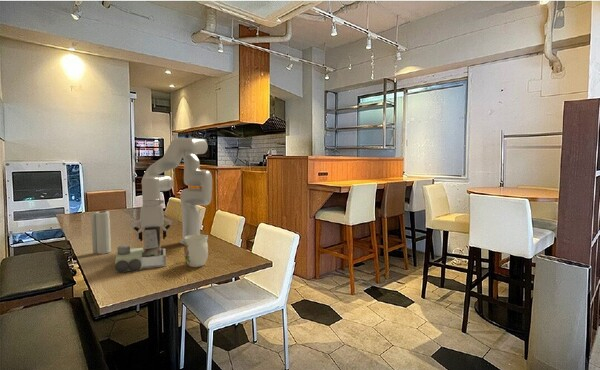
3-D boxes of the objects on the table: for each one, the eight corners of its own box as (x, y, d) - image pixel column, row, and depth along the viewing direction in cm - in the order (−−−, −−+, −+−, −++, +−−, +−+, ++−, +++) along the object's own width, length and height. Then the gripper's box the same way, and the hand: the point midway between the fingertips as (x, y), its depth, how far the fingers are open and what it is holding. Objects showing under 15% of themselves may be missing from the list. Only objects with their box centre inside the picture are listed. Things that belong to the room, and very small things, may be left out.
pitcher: (200, 257, 166) (200, 230, 165) (214, 267, 151) (214, 237, 150) (178, 261, 159) (177, 233, 158) (190, 272, 145) (189, 241, 144)
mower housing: (143, 258, 163) (143, 240, 162) (141, 270, 146) (140, 250, 145) (120, 261, 159) (119, 242, 158) (115, 273, 142) (114, 252, 141)
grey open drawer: (165, 258, 164) (165, 248, 164) (165, 266, 152) (165, 255, 152) (143, 260, 160) (143, 250, 160) (141, 268, 148) (141, 257, 148)
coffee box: (160, 263, 153) (159, 228, 152) (145, 264, 151) (144, 229, 149) (160, 257, 161) (160, 225, 160) (146, 259, 159) (145, 225, 158)
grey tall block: (113, 251, 174) (112, 211, 173) (104, 254, 169) (102, 213, 167) (102, 250, 176) (101, 210, 175) (92, 253, 171) (90, 212, 169)
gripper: (171, 201, 160) (172, 236, 162) (131, 203, 154) (132, 239, 155) (171, 203, 153) (172, 240, 155) (129, 205, 147) (131, 243, 148)
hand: (152, 239), depth 155 cm, fingers open, 9 cm apart
